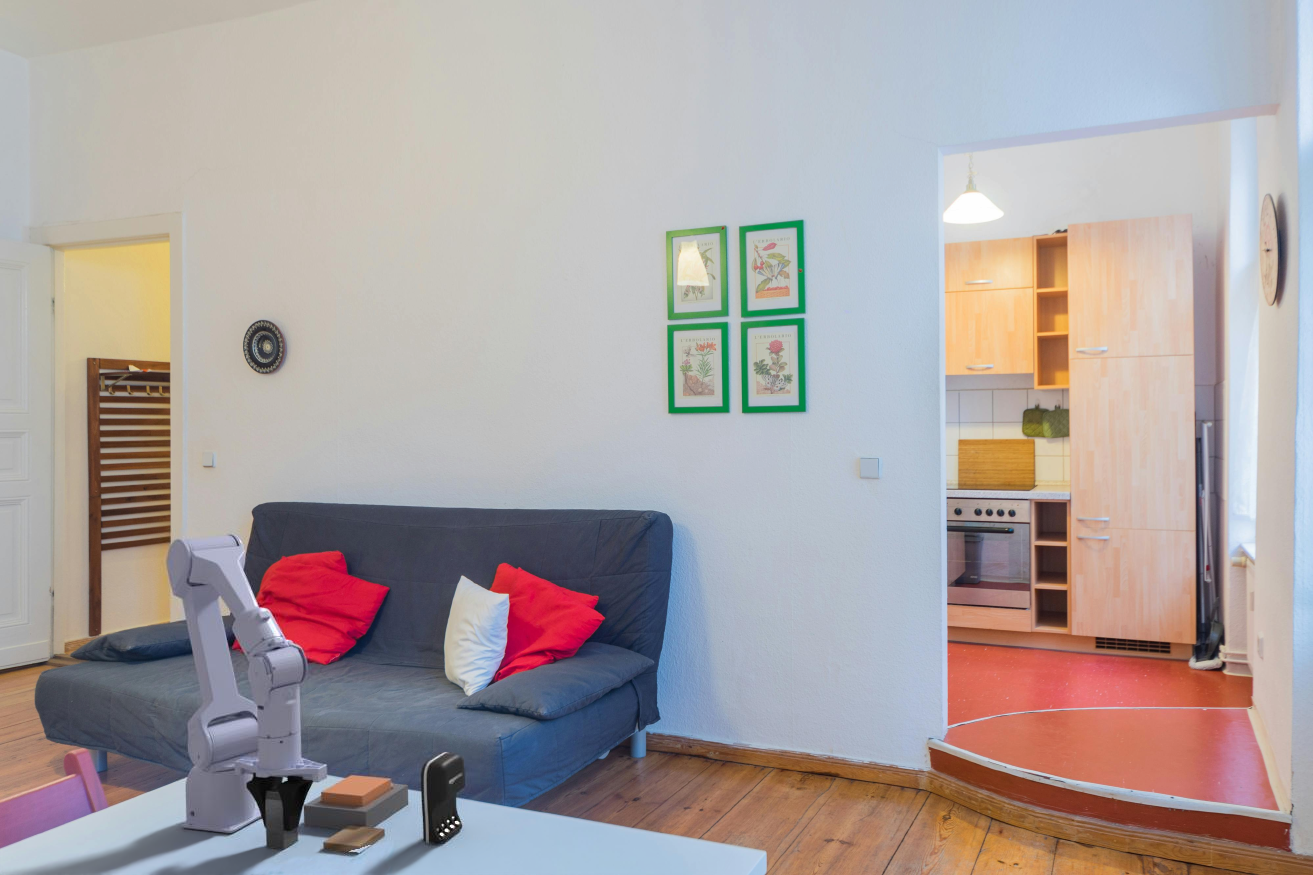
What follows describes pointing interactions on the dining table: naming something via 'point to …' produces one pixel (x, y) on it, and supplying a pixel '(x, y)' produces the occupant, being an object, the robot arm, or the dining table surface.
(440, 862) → the dining table surface
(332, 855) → the dining table surface
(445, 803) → the battery charger
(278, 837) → the grey rectangular block
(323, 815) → the tray
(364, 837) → the walnut pad
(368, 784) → the button
